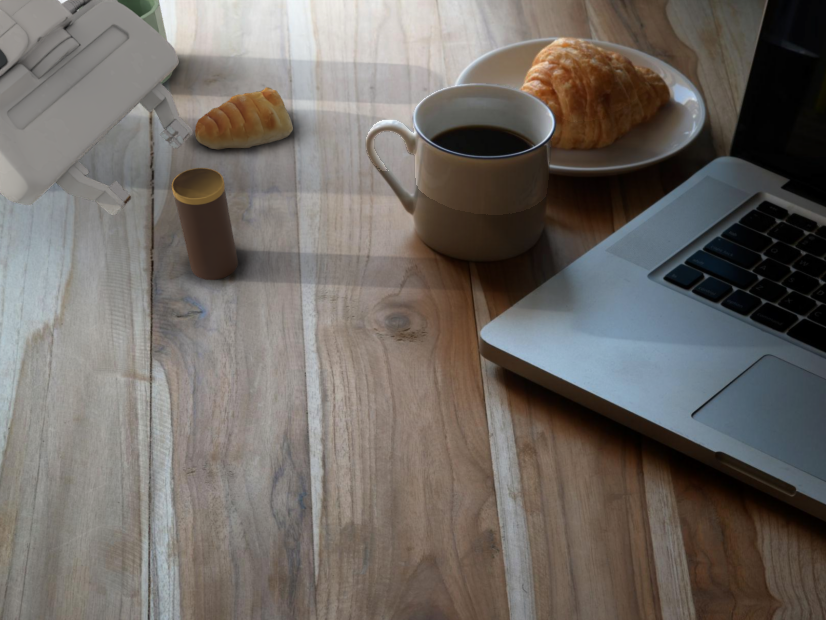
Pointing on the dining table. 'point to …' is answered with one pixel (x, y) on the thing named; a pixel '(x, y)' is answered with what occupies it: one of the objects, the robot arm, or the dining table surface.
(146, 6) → the canister
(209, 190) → the tube
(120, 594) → the dining table surface
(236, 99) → the pastry
